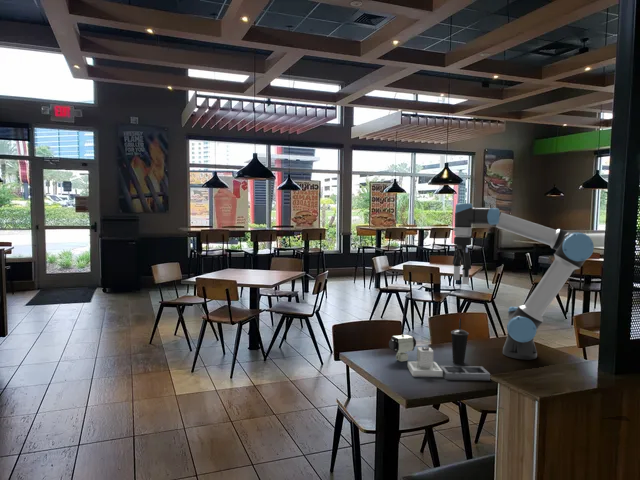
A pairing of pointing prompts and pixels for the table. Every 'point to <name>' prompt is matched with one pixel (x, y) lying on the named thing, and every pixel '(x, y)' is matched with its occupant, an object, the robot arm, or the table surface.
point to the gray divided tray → (465, 373)
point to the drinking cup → (459, 344)
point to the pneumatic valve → (402, 346)
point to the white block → (424, 358)
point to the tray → (425, 373)
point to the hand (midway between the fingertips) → (460, 282)
